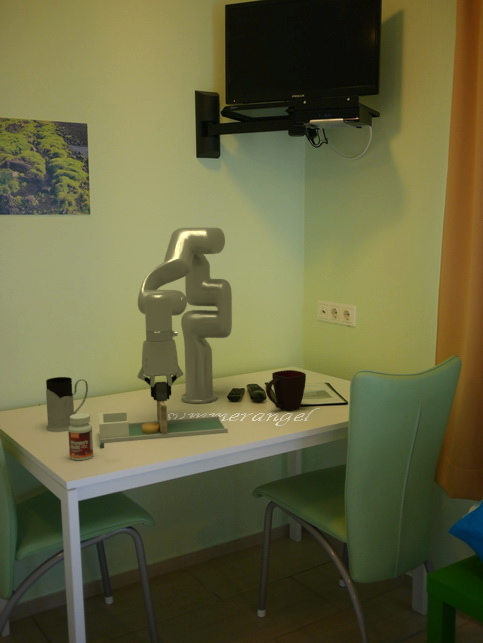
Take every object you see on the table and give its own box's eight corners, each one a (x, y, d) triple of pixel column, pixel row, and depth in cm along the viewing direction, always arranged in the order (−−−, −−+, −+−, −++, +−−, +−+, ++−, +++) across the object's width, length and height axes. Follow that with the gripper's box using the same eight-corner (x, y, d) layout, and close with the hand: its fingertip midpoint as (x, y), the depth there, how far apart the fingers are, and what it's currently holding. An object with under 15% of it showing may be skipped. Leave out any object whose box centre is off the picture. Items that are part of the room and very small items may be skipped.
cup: (310, 409, 219) (310, 374, 217) (277, 416, 211) (276, 380, 209) (291, 403, 227) (291, 369, 225) (258, 410, 219) (258, 374, 217)
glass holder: (41, 427, 203) (38, 380, 200) (81, 417, 213) (79, 372, 211) (56, 433, 197) (53, 384, 194) (96, 423, 207) (94, 376, 205)
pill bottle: (69, 461, 173) (66, 419, 171) (70, 453, 179) (68, 413, 177) (93, 459, 174) (91, 418, 173) (93, 452, 180) (91, 411, 179)
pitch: (99, 433, 196) (98, 412, 196) (218, 423, 204) (218, 403, 203) (100, 448, 183) (99, 425, 182) (227, 437, 191) (227, 415, 190)
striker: (154, 422, 200) (153, 378, 198) (164, 421, 200) (163, 377, 198) (159, 436, 186) (158, 389, 184) (170, 435, 187) (168, 388, 185)
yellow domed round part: (140, 430, 194) (140, 423, 194) (157, 427, 196) (156, 421, 196) (144, 435, 189) (144, 428, 189) (161, 432, 191) (161, 426, 191)
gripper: (185, 332, 195) (187, 393, 198) (129, 335, 191) (131, 397, 194) (189, 336, 188) (191, 400, 190) (131, 340, 184) (133, 404, 187)
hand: (161, 398), depth 192 cm, fingers closed on striker, 3 cm apart
